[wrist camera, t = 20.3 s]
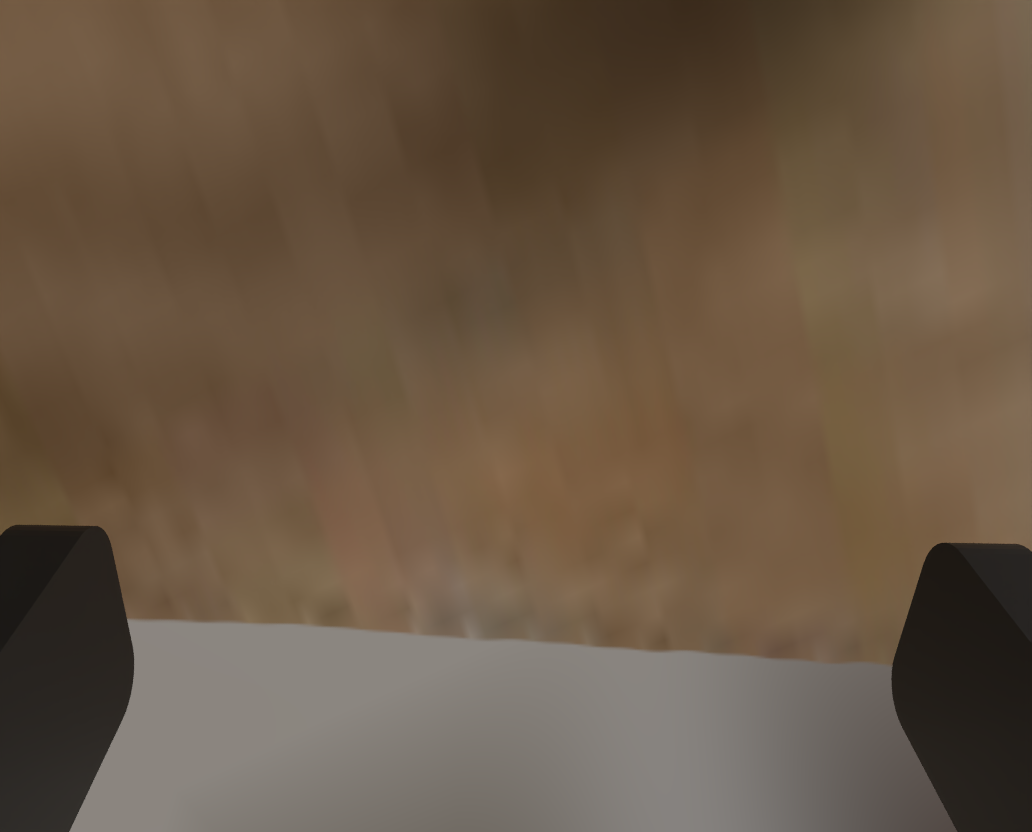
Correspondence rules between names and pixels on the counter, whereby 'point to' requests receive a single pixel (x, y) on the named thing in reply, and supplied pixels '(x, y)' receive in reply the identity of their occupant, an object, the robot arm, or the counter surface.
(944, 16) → the counter surface
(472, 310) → the counter surface
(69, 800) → the robot arm
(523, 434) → the counter surface
